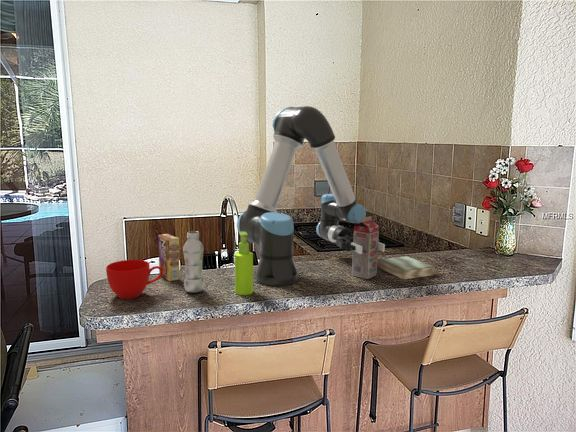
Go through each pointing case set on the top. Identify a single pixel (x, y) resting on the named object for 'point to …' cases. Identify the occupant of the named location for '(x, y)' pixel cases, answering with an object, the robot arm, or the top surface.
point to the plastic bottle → (193, 263)
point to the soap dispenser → (243, 268)
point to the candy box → (169, 257)
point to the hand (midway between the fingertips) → (372, 249)
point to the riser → (406, 267)
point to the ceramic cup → (130, 277)
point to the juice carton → (366, 248)
